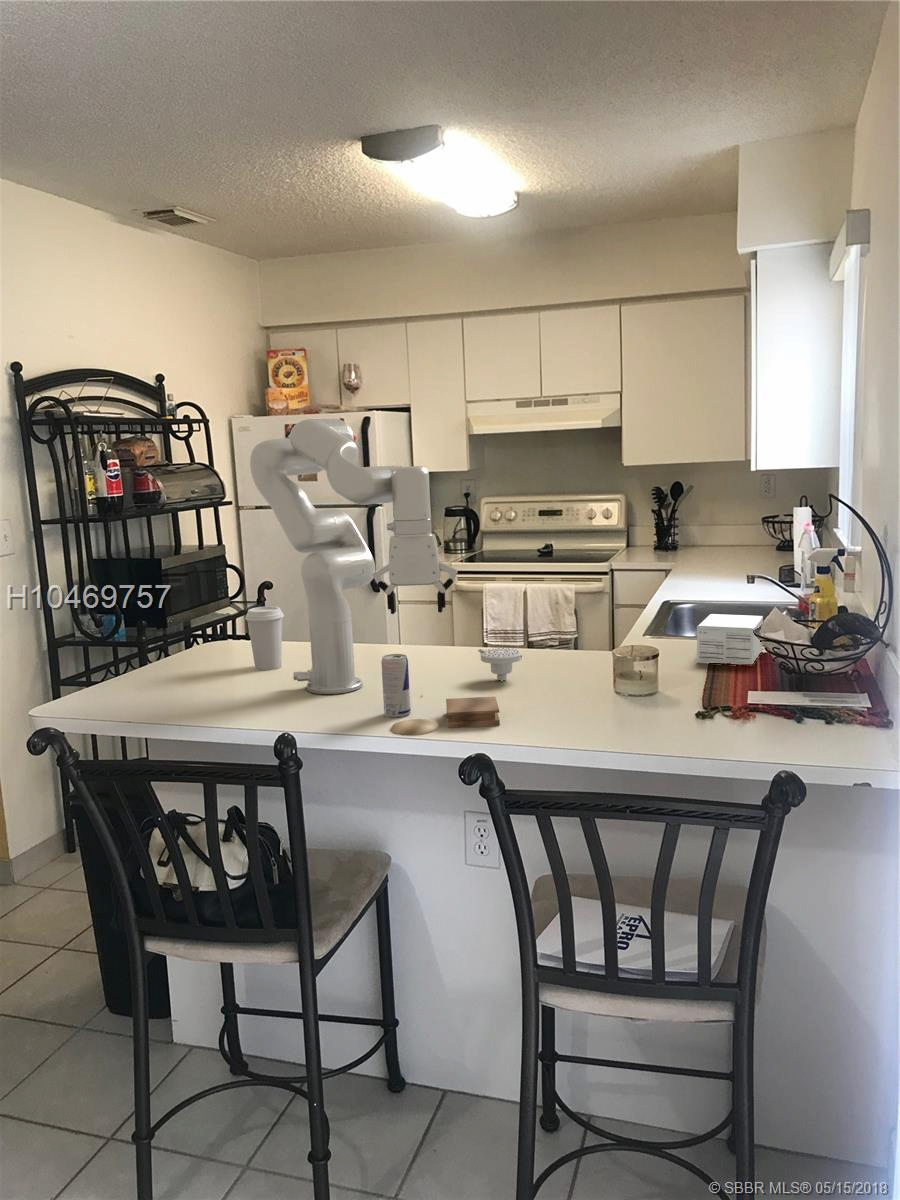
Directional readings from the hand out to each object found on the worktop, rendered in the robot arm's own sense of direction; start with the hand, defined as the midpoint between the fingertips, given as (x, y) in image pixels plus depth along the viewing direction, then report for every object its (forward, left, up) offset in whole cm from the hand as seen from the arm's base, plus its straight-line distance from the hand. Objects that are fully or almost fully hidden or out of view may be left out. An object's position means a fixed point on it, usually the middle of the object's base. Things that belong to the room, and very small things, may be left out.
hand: (417, 612), depth 192 cm
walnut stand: (+10, -10, -20) cm, 25 cm away
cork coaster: (-1, -14, -21) cm, 25 cm away
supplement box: (+75, +32, -21) cm, 84 cm away
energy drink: (-5, -4, -20) cm, 21 cm away
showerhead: (+18, +20, -20) cm, 34 cm away
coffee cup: (-39, +44, -20) cm, 62 cm away
